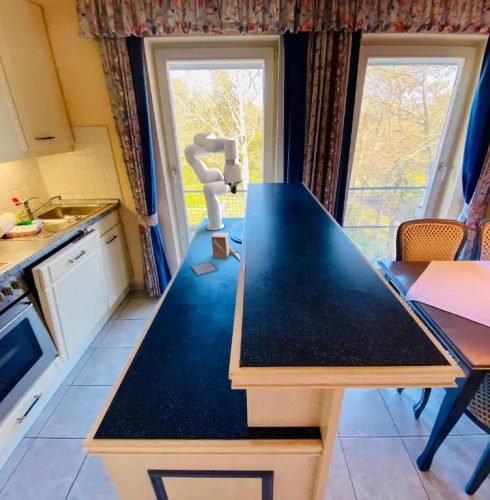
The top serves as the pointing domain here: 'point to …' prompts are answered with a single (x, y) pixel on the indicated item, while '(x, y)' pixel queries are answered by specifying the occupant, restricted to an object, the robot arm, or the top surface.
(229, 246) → the knife
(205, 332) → the top surface
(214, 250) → the small box
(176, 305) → the top surface
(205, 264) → the cloth
